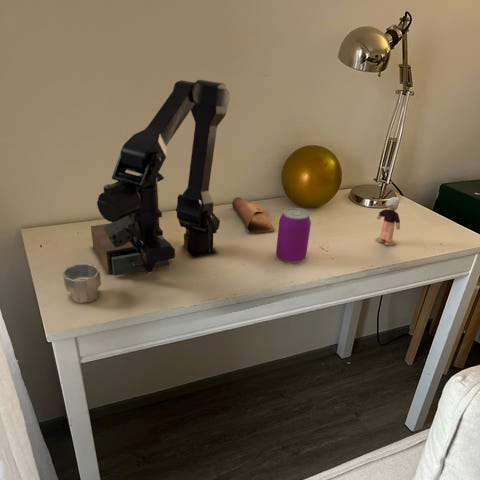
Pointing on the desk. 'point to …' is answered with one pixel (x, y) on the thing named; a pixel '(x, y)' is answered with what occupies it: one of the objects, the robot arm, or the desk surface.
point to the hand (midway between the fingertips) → (148, 271)
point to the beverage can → (293, 235)
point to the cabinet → (107, 246)
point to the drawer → (130, 262)
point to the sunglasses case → (252, 216)
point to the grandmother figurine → (389, 221)
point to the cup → (82, 282)
